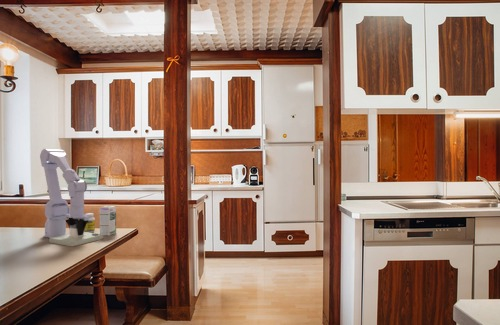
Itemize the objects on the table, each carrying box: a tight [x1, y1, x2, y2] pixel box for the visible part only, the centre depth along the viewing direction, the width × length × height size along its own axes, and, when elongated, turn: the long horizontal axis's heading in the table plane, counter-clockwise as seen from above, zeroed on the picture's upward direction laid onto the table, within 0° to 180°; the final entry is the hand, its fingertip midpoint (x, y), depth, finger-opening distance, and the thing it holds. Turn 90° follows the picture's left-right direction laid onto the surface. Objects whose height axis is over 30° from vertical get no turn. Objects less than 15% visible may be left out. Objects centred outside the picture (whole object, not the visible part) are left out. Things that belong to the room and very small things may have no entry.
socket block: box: [49, 232, 104, 247], centre depth 150 cm, size 16×16×3 cm
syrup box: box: [99, 205, 117, 236], centre depth 164 cm, size 6×6×14 cm
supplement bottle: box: [84, 212, 96, 233], centre depth 168 cm, size 5×5×10 cm
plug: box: [68, 224, 84, 238], centre depth 150 cm, size 4×4×7 cm
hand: (76, 234), depth 150 cm, fingers open, 5 cm apart
